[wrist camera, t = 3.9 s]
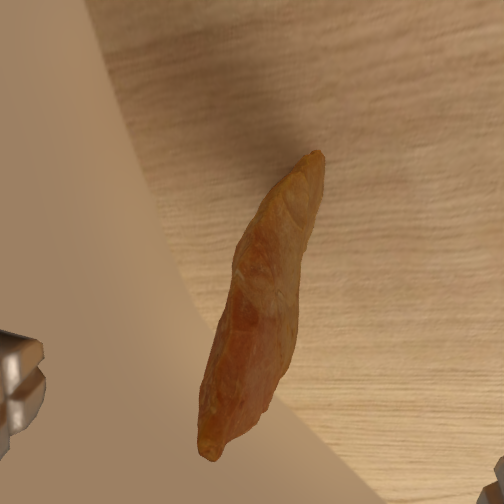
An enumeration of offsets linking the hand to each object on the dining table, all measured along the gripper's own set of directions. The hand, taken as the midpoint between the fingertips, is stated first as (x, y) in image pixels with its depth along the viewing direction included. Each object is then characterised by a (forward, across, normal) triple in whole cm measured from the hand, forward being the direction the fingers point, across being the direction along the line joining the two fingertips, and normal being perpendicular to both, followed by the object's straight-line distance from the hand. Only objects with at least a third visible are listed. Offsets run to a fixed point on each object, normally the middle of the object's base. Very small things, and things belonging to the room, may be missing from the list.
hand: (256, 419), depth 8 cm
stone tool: (+14, 0, 0) cm, 14 cm away
